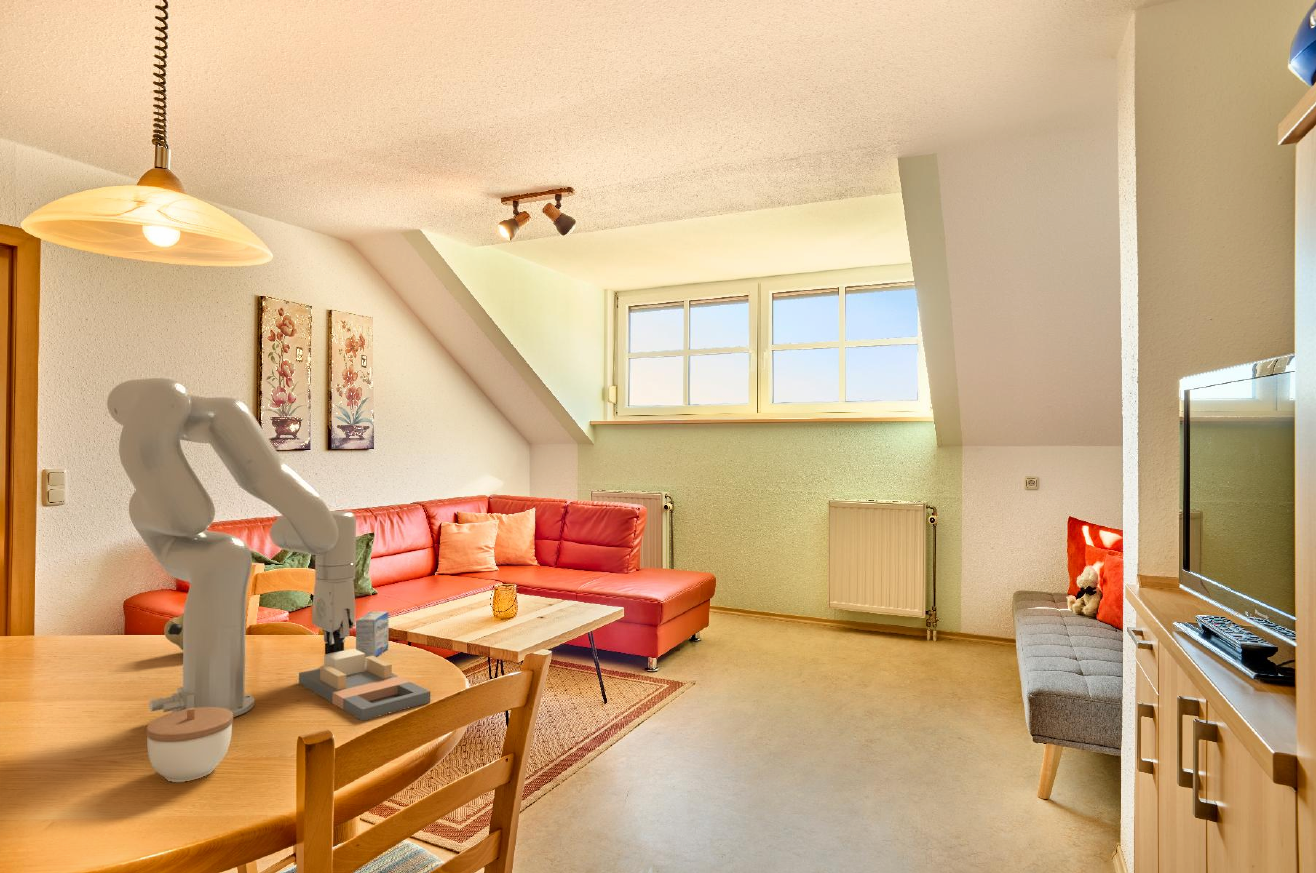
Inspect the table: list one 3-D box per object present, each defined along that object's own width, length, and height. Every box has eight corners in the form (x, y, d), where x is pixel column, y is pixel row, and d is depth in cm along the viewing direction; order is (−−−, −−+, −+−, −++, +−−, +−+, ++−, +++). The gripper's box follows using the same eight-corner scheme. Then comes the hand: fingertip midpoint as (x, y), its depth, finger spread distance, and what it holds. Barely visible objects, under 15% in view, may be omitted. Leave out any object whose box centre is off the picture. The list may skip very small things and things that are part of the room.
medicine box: (375, 659, 164) (375, 619, 164) (355, 658, 164) (355, 619, 164) (388, 648, 172) (389, 611, 172) (369, 648, 172) (370, 610, 172)
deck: (362, 720, 129) (362, 694, 129) (298, 682, 148) (299, 660, 148) (430, 702, 139) (430, 677, 139) (362, 668, 157) (362, 647, 157)
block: (335, 677, 145) (335, 659, 145) (324, 671, 149) (324, 654, 149) (364, 670, 150) (365, 653, 150) (353, 665, 153) (353, 648, 153)
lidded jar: (138, 771, 109) (139, 707, 109) (221, 750, 116) (221, 690, 116) (154, 798, 101) (155, 728, 101) (241, 773, 109) (242, 709, 109)
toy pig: (163, 652, 166) (164, 604, 166) (225, 644, 173) (226, 598, 173) (163, 664, 158) (164, 613, 158) (229, 655, 165) (229, 607, 165)
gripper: (301, 569, 154) (300, 657, 154) (333, 579, 144) (332, 674, 144) (337, 565, 160) (336, 650, 160) (370, 574, 150) (369, 665, 150)
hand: (334, 661), depth 152 cm, fingers closed
